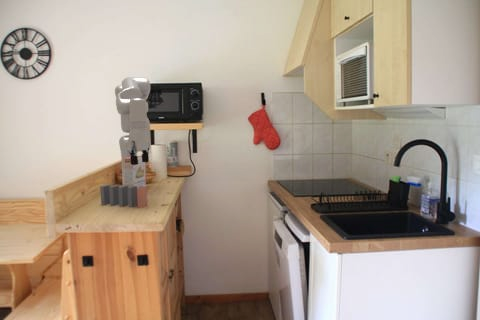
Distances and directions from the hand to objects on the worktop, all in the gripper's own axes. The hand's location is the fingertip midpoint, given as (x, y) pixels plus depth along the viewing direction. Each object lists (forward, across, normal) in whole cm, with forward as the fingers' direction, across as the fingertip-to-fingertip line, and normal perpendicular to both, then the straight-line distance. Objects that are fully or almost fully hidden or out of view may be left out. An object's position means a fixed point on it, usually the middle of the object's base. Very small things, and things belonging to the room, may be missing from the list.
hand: (140, 163), depth 168 cm
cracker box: (+20, -23, -17) cm, 35 cm away
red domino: (+20, 0, 0) cm, 20 cm away
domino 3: (+20, 0, -10) cm, 22 cm away
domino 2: (+20, 0, -14) cm, 25 cm away
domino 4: (+20, 0, -4) cm, 21 cm away
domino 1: (+20, -1, -20) cm, 28 cm away
